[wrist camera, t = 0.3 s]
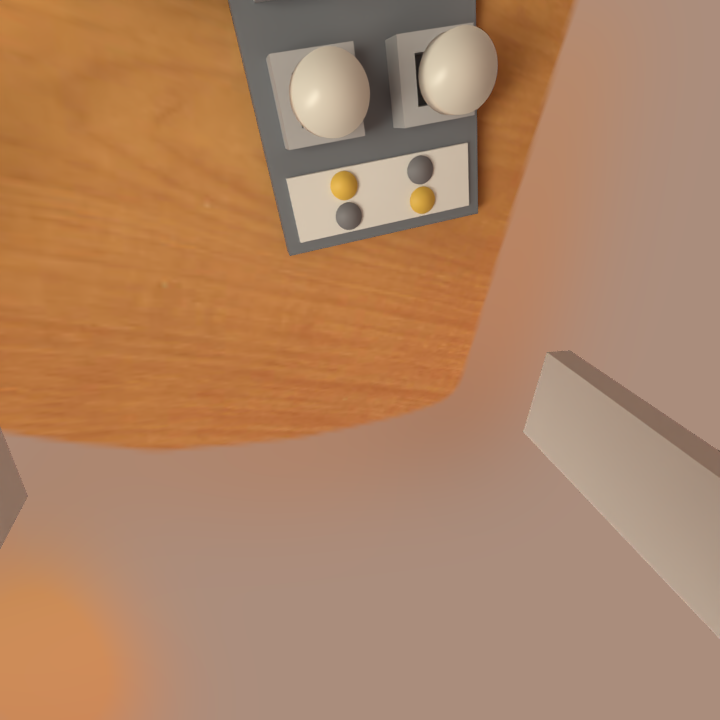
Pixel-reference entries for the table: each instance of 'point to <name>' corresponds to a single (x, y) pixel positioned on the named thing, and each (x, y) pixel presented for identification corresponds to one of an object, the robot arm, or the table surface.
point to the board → (376, 132)
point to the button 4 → (458, 70)
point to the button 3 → (329, 92)
